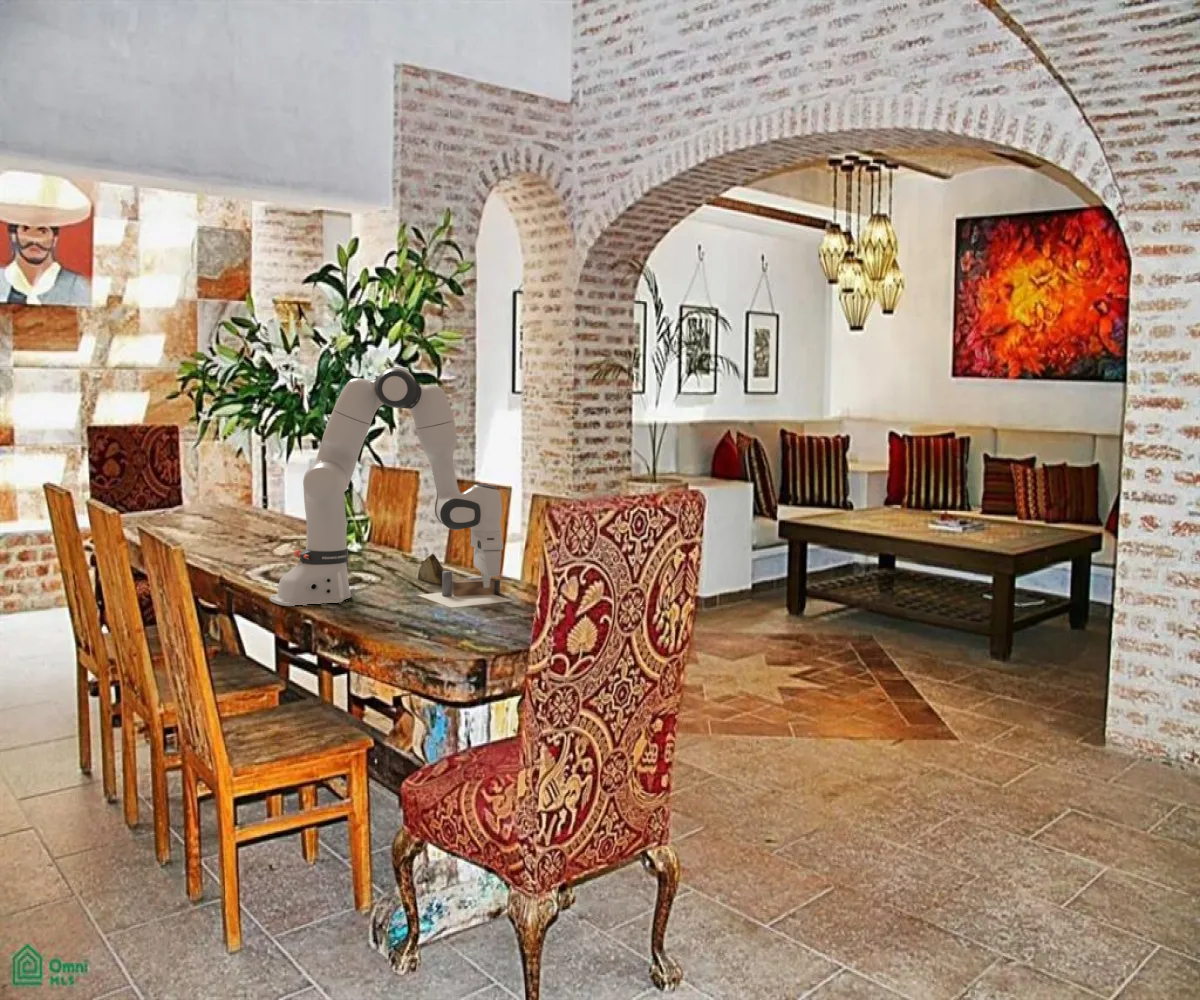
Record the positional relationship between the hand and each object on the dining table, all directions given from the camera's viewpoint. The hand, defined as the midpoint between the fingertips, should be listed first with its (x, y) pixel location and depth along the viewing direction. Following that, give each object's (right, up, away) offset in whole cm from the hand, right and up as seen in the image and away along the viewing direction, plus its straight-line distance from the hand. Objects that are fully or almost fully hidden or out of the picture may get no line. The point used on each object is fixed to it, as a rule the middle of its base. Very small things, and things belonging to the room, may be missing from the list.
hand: (486, 587), depth 326 cm
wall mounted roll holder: (-6, -4, -4) cm, 8 cm away
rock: (-19, -1, +21) cm, 28 cm away
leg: (-3, -2, +2) cm, 4 cm away
